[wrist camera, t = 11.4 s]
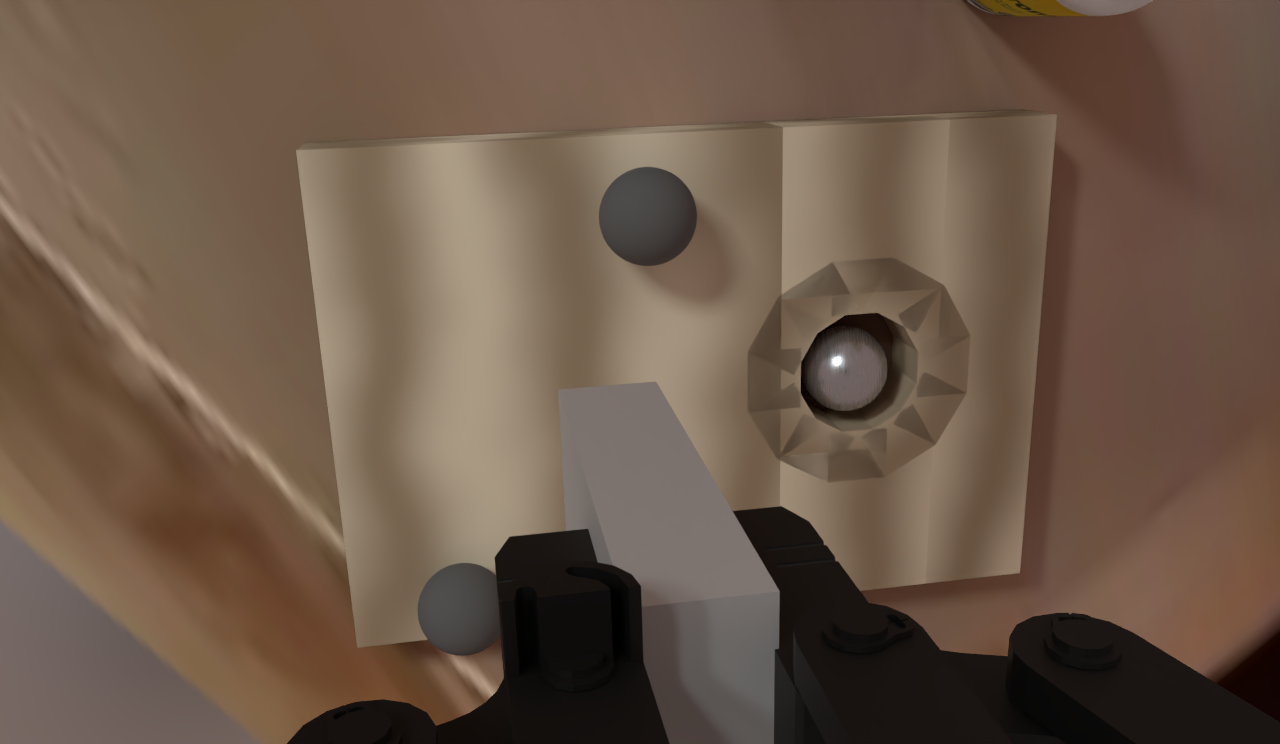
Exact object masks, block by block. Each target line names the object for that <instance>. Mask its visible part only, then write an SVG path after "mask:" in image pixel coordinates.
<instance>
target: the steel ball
mask: <svg viewBox="0 0 1280 744" xmlns="http://www.w3.org/2000/svg"><path fill="white" fill-rule="evenodd" d="M801 374H802V379H803V382H804V385H805V387H806V389H807V391H808V392H809V394H810V395H811V396H812V397H813V398H814V399H815V400H816V401H817V402H818V403H820V404H821V405H823V406H825V407H827V408H830V409H833V410H837V411H851V410H856V409H859V408H862V407H864V406H866V405H867V404H869V403H870V402H872V401H873V400H874V399H875V398H876V397H877V396H878V395H879V393H880V392H881V391H882V389H883V387H884V385H885V382H886V379H887V374H888V363H887V358H886V355H885V352H884V350H883V348H882V346H881V345H880V343H879V342H878V341H877V340H876V339H875V338H874V337H873V336H872V335H871V334H869V333H868V332H866V331H864V330H862V329H859V328H856V327H851V326H837V327H833V328H830V329H827V330H825V331H823V332H821V333H820V334H818V335H817V336H816V337H815V339H814V340H813V342H812V344H811V346H810V347H809V349H808V351H807V353H806V354H805V356H804V358H803V360H802V363H801Z"/></svg>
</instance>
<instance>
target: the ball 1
mask: <svg viewBox="0 0 1280 744" xmlns="http://www.w3.org/2000/svg"><path fill="white" fill-rule="evenodd" d="M418 620H419V624H420V627H421V629H422V631H423V633H424V635H425V636H426V638H427V639H428V640H429V641H430V642H431V643H432V644H433V645H434V646H435V647H437V648H438V649H440V650H442V651H444V652H446V653H449V654H453V655H471V654H475V653H478V652H480V651H483V650H484V649H486V648H488V647H489V646H490V645H492V644H493V643H494V642H495V641H496V640H497V639H498V638H499V636H500V635H501V634H500V621H499V608H498V595H497V583H496V575H495V574H494V573H492V572H491V571H490V570H488V569H487V568H485V567H483V566H480V565H477V564H472V563H458V564H453V565H449V566H447V567H445V568H443V569H441V570H439V571H438V572H437V573H435V574H434V575H433V576H432V577H431V578H430V579H429V580H428V582H427V583H426V584H425V586H424V588H423V590H422V592H421V594H420V597H419V602H418Z"/></svg>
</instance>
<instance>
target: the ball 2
mask: <svg viewBox="0 0 1280 744" xmlns="http://www.w3.org/2000/svg"><path fill="white" fill-rule="evenodd" d="M696 224H697V209H696V204H695V201H694V198H693V196H692V194H691V192H690V190H689V189H688V187H687V186H686V185H685V184H684V182H683V181H682V180H681V179H679V178H678V177H677V176H676V175H674V174H672V173H671V172H668V171H666V170H663V169H660V168H655V167H640V168H636V169H632V170H630V171H627V172H625V173H624V174H622V175H620V176H619V177H618V178H616V179H615V180H614V181H613V182H612V183H611V185H610V186H609V187H608V188H607V190H606V192H605V193H604V196H603V198H602V200H601V204H600V209H599V225H600V229H601V232H602V235H603V238H604V240H605V241H606V243H607V245H608V246H609V247H610V249H611V250H612V251H613V252H614V253H615V254H617V255H618V256H619V257H620V258H622V259H624V260H625V261H627V262H630V263H632V264H636V265H641V266H655V265H660V264H664V263H666V262H669V261H670V260H672V259H674V258H675V257H677V256H678V255H680V254H681V253H682V252H683V251H684V250H685V248H686V247H687V246H688V244H689V243H690V241H691V239H692V237H693V235H694V232H695V229H696Z"/></svg>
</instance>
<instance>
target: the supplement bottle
mask: <svg viewBox="0 0 1280 744" xmlns="http://www.w3.org/2000/svg"><path fill="white" fill-rule="evenodd" d="M966 1H968V2H969V3H970V4H971V5H973V6H975V7H976V8H978V9H980V10H983V11H985V12H988V13H991V14H996V15H1003V16H1110V15H1119V14H1123V13H1127V12H1131V11H1133V10H1136V9H1138V8H1141V7H1143V6H1145V5H1147V4H1148V3H1150V2H1152V1H1153V0H966Z"/></svg>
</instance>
